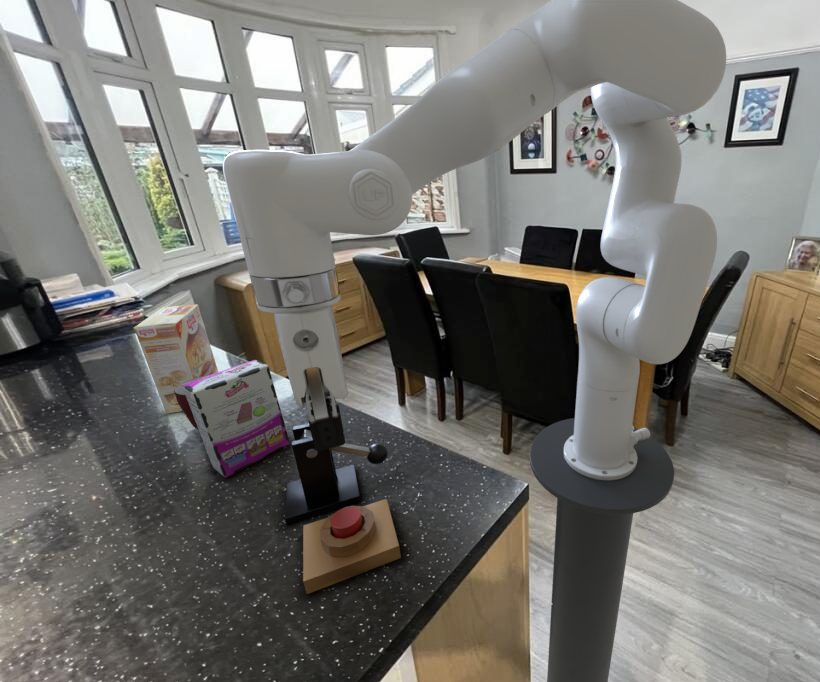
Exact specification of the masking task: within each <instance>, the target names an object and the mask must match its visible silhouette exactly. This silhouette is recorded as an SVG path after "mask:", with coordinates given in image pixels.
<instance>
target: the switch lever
mask: <svg viewBox="0 0 820 682" xmlns="http://www.w3.org/2000/svg"><path fill="white" fill-rule="evenodd" d="M309 437H312V435H311V431H310V430H304V432H303V434H302V436H301V439H305V438H309ZM301 439H300V440H301ZM330 450H331V451H332V452H338V453H343V454H349V455H353V456H354V455H355V456H360V457H366V460H367V461H368V462H369V463H370V464H372V465H380V464H382V463H384V462H385V461H386V459H387V458H388V449H387V447H386V445H384V444H382V443H374V444H372V445H370V446H369V447H367V446H362V445H357V444H351V443H346V442H345V444H344V445H342V446H338V447H334V448H330Z"/></svg>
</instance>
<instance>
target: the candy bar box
mask: <svg viewBox="0 0 820 682" xmlns="http://www.w3.org/2000/svg"><path fill="white" fill-rule="evenodd" d="M182 387H183V390H184V393H185V395H186V397H187V400H188V403H189V405H190V408H191V411H192V413H193V416H194V419H195V421H196V424H197V426H198V429H199V430H198V429H197V430H198V431H199V435H200V437H201V439H202V442H203V445H204V448H205V450H206V453H207V455H208V458H209V461H210V464H211V466H212V469H214V470H215V471H216V472H218V473H219V474H220V475H221V476H222V477H224V478H225V479H226V478H229V477H231V476H233V475H235V474H237V473H238V472H240V471H242V470H244V469H246V468H248V467H249V466H252V465H253V464H255V463H257V462H259V461H262V460H263V459H264V458H266V457H268V456H270V455H272V454H273V453H275V452H277V451H279V450H282V449H283V448H285V447H287V446H289V445H290V444H291V442H290V437H289V434H288V430H287V427H286V423H285V420H284V416H283V412H282V409H281V406H280V403H279V398H278V394H277V392H276V388H275V384H274V381H273V378H272V372H271V369H270V367H269V365H268V364H265V363H263V362H261V361H259V360H257V359H253V360H250V361H247V362H244V363H241V364H239V365H235V366H232V367H230V368H227V369H223V370H220V371H218V373H215V374H212V375H209V376H206V377H203V378H200V379H197V380H195V381H192V382H189V383H186V384H183V385H182Z"/></svg>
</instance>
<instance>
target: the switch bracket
mask: <svg viewBox="0 0 820 682" xmlns="http://www.w3.org/2000/svg"><path fill="white" fill-rule="evenodd" d="M291 429H292V434H293V438H294V440H293V441H291V448H292V453H293V456H294V460H295V464H296V468H297V472H298V476H299V479H296V480H293V481H290V482H287V483H286V490H285V491H286V494H285V511H284V513H285V514H284V520H285V524H286V526H290V525H292V524H295V523H298V522H302V521H305V520H308V519H311V518H314V517H318V516H321V515H324V514H327V513H331V512H333V511H338V510H341V509H343V508H345V507H350V506H353V505H356V504H359V503H361V502H362V500H361V495H360V488H359V484H358V478H357V472H356V467H355V464H350V465H346V466H344V467H340V468H337V469H336V464H335V460H334V456H333V451H331V450H330V449H326V450H322V451H316V450H315V448H314V444H313V439H312V437H309V438H305V439H301V436H302V434H303V432H304V430H310V426H309V422H308V423H303V424H299V425H295V426H292V428H291ZM310 431H311V430H310ZM300 439H301V440H300Z"/></svg>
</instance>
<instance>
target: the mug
mask: <svg viewBox="0 0 820 682" xmlns="http://www.w3.org/2000/svg"><path fill="white" fill-rule="evenodd" d="M208 376H209V375H208ZM203 377H206V376H202V377H198V378H194V379H191V380H188V381H186V382H184V383H182V384H180V385H179V386H177V387H176V388H175V390H174V393H175V396H176V399H177V402H178V404H179V406H180V407H181V409H182V411H181V412H183V414H184V416H185V417H186V418H187V420H188V421H189V422H190V424H191V425H192V427H194V428H195V429H196V430H198V431H199V429H198V426H197V424H196V421H195V419H194V416H193V413H192V411H191V408H190V405H189V403H188V400H187V397H186V395H185V393H184V390H183V387H182V385H183V384H186V383H189V382H192V381H195V380H197V379H200V378H203Z"/></svg>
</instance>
